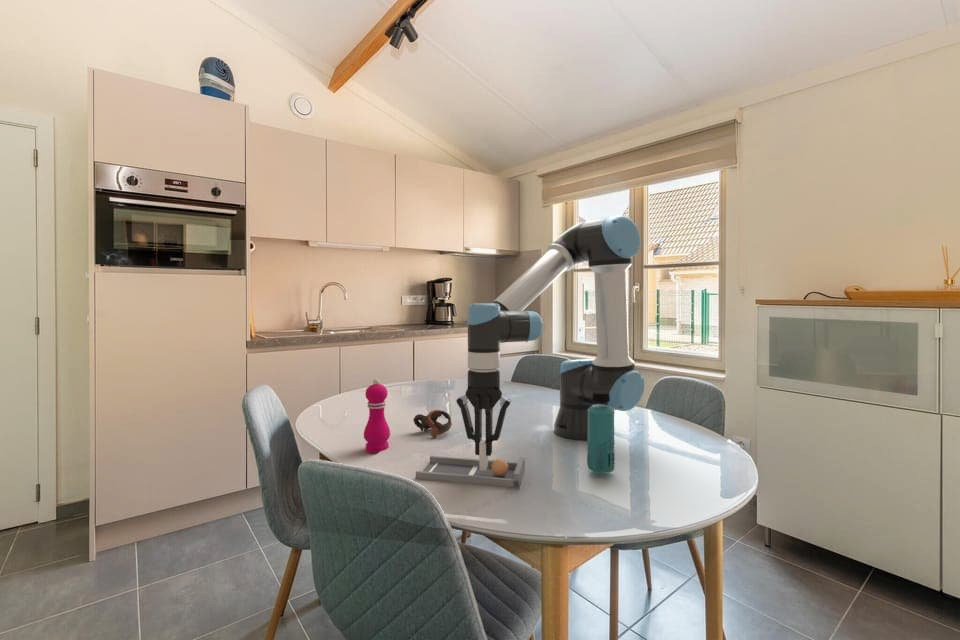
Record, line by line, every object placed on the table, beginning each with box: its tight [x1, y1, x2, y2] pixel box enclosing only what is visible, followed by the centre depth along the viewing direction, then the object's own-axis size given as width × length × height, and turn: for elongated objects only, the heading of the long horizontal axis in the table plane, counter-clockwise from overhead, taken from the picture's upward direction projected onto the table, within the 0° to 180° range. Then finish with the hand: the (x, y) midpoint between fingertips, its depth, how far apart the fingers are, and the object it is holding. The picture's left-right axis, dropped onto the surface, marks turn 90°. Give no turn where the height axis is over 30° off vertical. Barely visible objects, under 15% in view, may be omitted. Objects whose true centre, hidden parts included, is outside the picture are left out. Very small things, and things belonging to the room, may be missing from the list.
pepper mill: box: [363, 378, 391, 454], centre depth 125 cm, size 7×7×20 cm
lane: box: [415, 455, 526, 491], centre depth 107 cm, size 24×11×4 cm, turn 78°
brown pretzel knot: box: [412, 409, 453, 439], centre depth 140 cm, size 12×10×8 cm
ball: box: [491, 458, 508, 477], centre depth 105 cm, size 4×4×4 cm
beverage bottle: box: [586, 391, 616, 474], centre depth 107 cm, size 6×7×20 cm
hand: (483, 468), depth 106 cm, fingers closed
